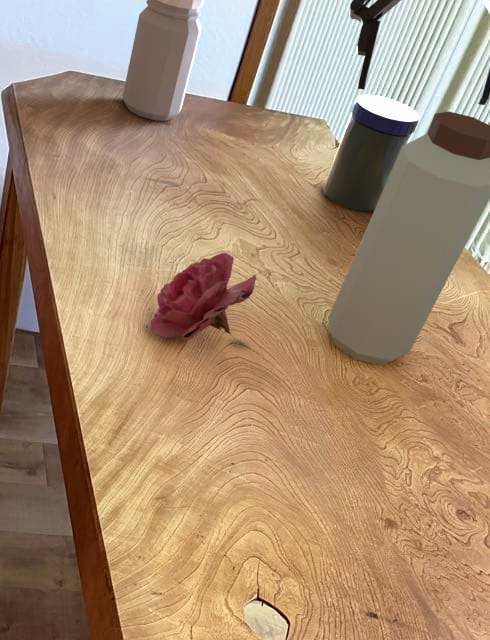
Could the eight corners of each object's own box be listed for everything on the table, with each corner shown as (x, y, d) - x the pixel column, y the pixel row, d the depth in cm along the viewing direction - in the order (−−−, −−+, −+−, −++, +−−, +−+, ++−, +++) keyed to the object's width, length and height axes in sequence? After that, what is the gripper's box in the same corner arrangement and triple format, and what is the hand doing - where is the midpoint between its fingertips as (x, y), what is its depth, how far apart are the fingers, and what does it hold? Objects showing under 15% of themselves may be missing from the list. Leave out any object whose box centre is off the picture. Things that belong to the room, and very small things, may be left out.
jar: (191, 122, 145) (223, -2, 132) (141, 123, 140) (170, -5, 127) (158, 97, 150) (186, -24, 137) (109, 98, 145) (134, -28, 133)
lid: (426, 136, 126) (433, 122, 125) (376, 135, 123) (381, 120, 121) (388, 109, 132) (393, 95, 130) (338, 107, 128) (343, 93, 127)
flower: (138, 363, 98) (124, 269, 95) (198, 348, 104) (186, 259, 102) (218, 357, 90) (205, 253, 87) (278, 341, 96) (268, 244, 93)
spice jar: (391, 211, 134) (430, 125, 125) (344, 212, 130) (380, 124, 122) (357, 183, 139) (392, 99, 131) (311, 183, 136) (343, 97, 127)
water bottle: (307, 320, 105) (398, 100, 88) (377, 320, 109) (478, 108, 91) (348, 370, 99) (455, 144, 82) (421, 368, 102) (539, 151, 85)
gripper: (585, -87, 99) (528, 117, 104) (357, -106, 104) (313, 89, 109) (606, -123, 92) (544, 97, 96) (360, -142, 97) (312, 68, 102)
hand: (421, 93), depth 103 cm, fingers open, 13 cm apart
